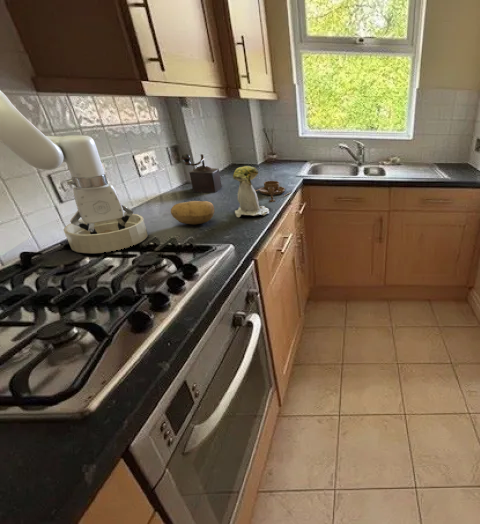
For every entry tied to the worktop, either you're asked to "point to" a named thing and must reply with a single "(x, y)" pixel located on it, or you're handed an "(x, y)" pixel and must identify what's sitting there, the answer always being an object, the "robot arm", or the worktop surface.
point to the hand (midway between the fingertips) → (111, 239)
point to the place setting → (272, 189)
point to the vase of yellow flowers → (248, 192)
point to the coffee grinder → (203, 176)
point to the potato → (193, 212)
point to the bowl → (106, 235)
